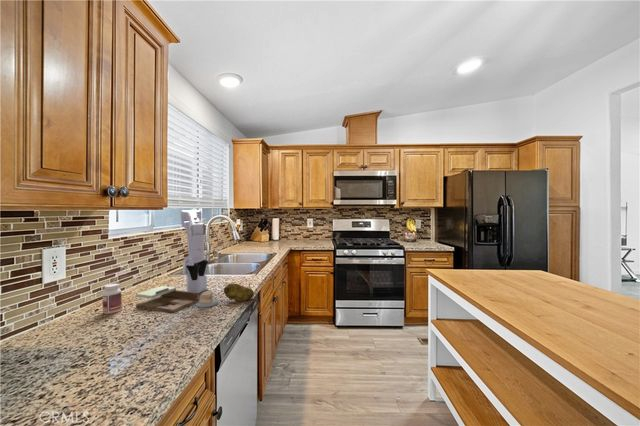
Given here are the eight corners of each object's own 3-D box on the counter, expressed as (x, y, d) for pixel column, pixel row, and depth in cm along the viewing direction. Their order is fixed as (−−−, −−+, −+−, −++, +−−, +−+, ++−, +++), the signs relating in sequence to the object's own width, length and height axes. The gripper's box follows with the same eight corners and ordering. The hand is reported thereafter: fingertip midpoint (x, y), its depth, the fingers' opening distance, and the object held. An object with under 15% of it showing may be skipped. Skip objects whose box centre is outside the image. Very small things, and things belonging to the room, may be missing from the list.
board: (164, 296, 127) (164, 287, 127) (199, 301, 120) (198, 292, 120) (136, 307, 113) (136, 297, 113) (173, 312, 107) (173, 302, 107)
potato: (250, 303, 117) (250, 285, 117) (222, 304, 116) (221, 286, 116) (254, 297, 125) (254, 280, 125) (227, 297, 125) (227, 281, 125)
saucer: (206, 299, 122) (206, 297, 122) (222, 301, 119) (222, 299, 119) (191, 306, 114) (191, 304, 114) (208, 308, 111) (208, 306, 111)
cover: (161, 288, 126) (161, 283, 126) (176, 290, 123) (175, 285, 123) (136, 296, 114) (136, 291, 114) (151, 298, 111) (151, 293, 111)
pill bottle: (124, 307, 113) (123, 282, 113) (118, 313, 107) (117, 286, 107) (107, 309, 111) (106, 283, 111) (99, 315, 105) (99, 288, 105)
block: (203, 300, 118) (203, 292, 118) (212, 300, 119) (212, 291, 119) (200, 303, 114) (200, 294, 114) (210, 303, 115) (210, 294, 115)
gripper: (195, 247, 128) (196, 274, 128) (181, 251, 114) (181, 282, 114) (210, 246, 129) (210, 274, 129) (197, 251, 114) (198, 281, 114)
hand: (198, 278), depth 121 cm, fingers open, 7 cm apart
